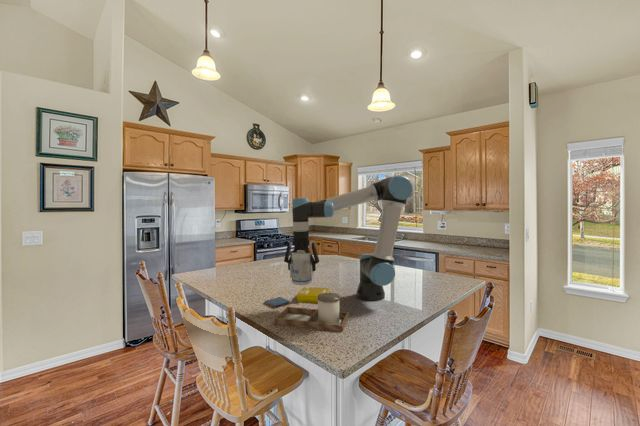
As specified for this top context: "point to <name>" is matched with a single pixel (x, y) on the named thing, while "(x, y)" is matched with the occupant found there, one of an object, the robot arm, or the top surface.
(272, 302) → the woven mat
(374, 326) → the top surface
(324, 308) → the canister
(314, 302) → the element tile
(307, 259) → the supplement tub
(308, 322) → the crate
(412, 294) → the top surface
